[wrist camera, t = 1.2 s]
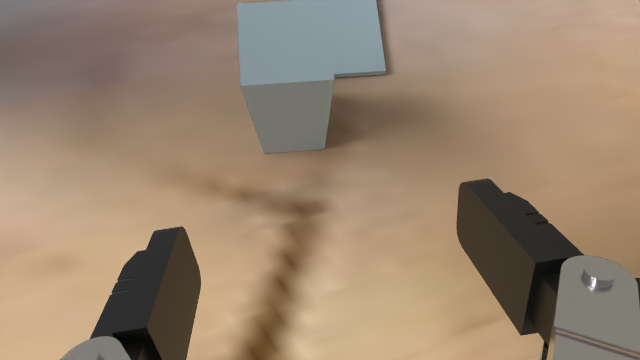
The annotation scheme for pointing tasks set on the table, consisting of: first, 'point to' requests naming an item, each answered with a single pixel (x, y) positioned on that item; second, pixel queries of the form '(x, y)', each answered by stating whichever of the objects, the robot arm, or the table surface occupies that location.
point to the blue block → (286, 72)
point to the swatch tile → (355, 38)
